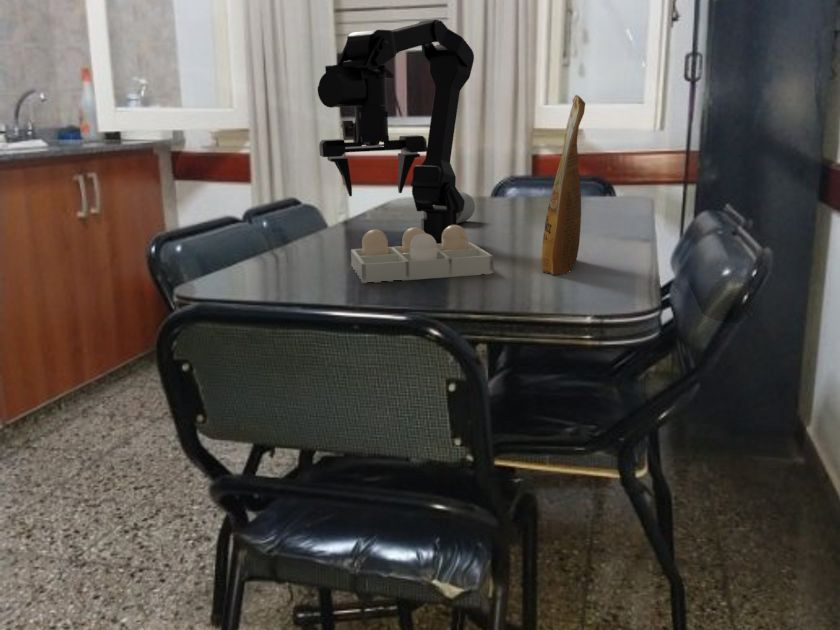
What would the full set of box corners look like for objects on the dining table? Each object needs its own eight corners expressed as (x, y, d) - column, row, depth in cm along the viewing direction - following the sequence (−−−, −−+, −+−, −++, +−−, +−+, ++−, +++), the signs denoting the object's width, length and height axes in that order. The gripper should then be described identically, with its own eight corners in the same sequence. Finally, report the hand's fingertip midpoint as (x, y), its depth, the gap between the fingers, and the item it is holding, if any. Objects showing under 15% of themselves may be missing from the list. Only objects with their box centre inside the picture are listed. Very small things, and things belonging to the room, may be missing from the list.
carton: (469, 258, 142) (469, 220, 140) (493, 273, 128) (493, 232, 126) (351, 266, 138) (349, 227, 136) (362, 283, 124) (360, 240, 122)
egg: (434, 266, 132) (433, 230, 130) (440, 271, 128) (439, 234, 126) (408, 268, 131) (407, 232, 130) (414, 274, 127) (412, 236, 125)
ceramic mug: (477, 221, 188) (476, 188, 186) (463, 226, 181) (462, 192, 179) (437, 220, 193) (436, 188, 191) (422, 225, 186) (421, 192, 184)
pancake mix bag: (588, 256, 141) (592, 94, 134) (579, 278, 123) (583, 93, 116) (550, 255, 143) (552, 96, 136) (536, 277, 125) (538, 95, 118)
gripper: (411, 104, 148) (414, 187, 152) (313, 108, 144) (319, 193, 148) (426, 103, 138) (429, 193, 142) (320, 108, 133) (326, 199, 138)
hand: (375, 194), depth 143 cm, fingers open, 9 cm apart
